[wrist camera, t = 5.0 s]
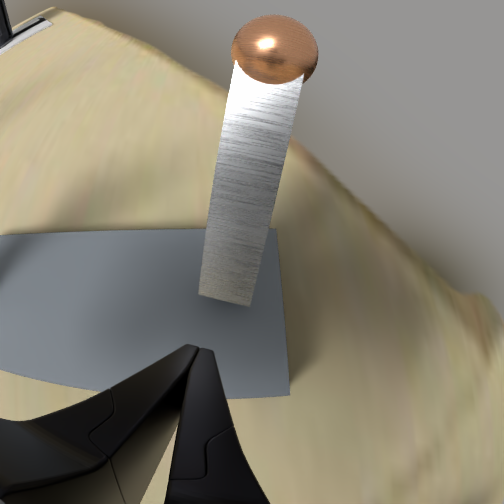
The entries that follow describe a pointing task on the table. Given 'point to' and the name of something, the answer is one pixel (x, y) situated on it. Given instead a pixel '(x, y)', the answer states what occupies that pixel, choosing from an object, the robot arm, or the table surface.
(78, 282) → the switch board
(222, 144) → the copper knob rod
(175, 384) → the robot arm
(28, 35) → the slab on white base
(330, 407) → the table surface
